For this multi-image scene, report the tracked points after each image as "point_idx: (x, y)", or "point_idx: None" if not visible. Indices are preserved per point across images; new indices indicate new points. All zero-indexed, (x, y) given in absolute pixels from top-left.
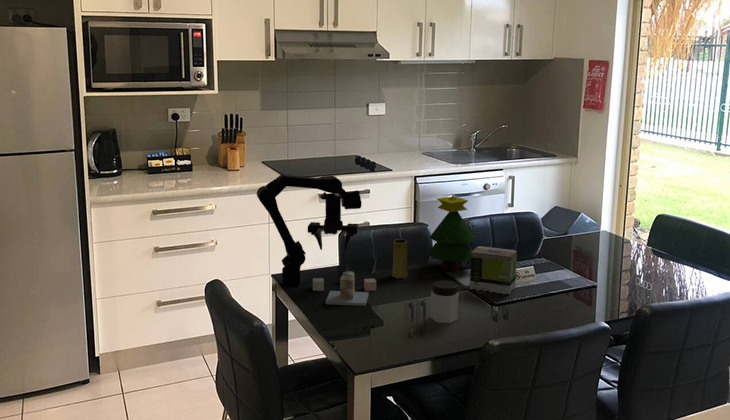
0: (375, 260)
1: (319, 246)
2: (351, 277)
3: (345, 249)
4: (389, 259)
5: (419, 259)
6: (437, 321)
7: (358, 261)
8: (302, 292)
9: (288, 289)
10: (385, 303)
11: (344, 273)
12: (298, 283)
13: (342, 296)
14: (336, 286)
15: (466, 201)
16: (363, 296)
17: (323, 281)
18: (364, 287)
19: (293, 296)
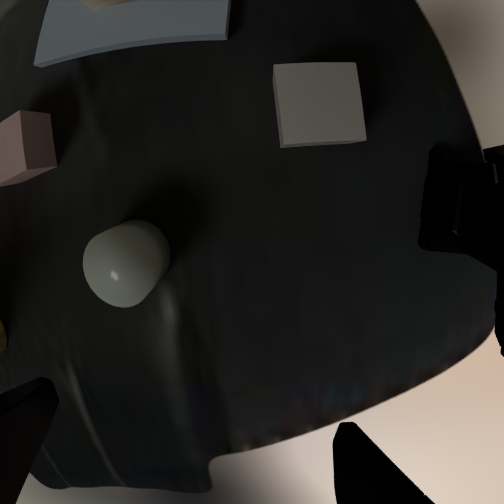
0: (112, 471)
1: (379, 451)
2: None
3: (33, 382)
4: (79, 466)
5: None
6: None
7: (163, 476)
8: (393, 57)
9: (466, 114)
10: (8, 11)
11: (138, 264)
12: (435, 173)
13: None
14: (198, 162)
15: None
16: (59, 8)
17: (276, 72)
18: (49, 146)
19: (421, 12)
